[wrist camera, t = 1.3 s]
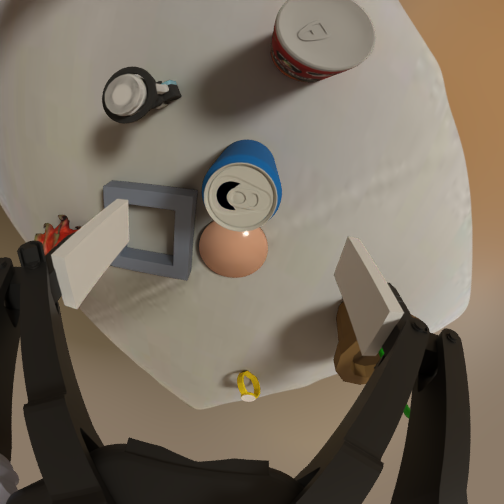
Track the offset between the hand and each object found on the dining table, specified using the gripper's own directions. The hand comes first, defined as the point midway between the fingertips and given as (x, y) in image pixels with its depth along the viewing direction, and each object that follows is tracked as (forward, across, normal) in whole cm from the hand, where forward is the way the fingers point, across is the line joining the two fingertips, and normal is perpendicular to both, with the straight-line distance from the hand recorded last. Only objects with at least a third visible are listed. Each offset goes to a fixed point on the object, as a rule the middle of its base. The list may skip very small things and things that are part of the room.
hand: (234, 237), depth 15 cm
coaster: (+18, 0, -11) cm, 21 cm away
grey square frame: (+18, -12, -10) cm, 23 cm away
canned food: (+18, +4, +15) cm, 24 cm away
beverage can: (+18, 0, 0) cm, 18 cm away
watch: (+18, +7, -40) cm, 44 cm away
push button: (+18, -12, +7) cm, 23 cm away
